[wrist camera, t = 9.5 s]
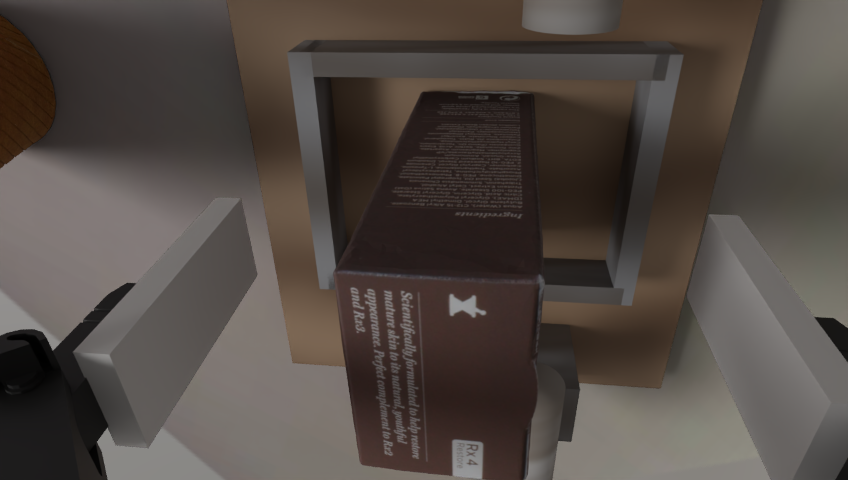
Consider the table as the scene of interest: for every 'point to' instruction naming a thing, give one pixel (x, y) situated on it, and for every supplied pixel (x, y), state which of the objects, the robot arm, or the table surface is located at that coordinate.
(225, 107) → the table surface
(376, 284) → the box
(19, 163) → the table surface
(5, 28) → the disposable coffee cup
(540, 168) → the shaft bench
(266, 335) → the table surface
